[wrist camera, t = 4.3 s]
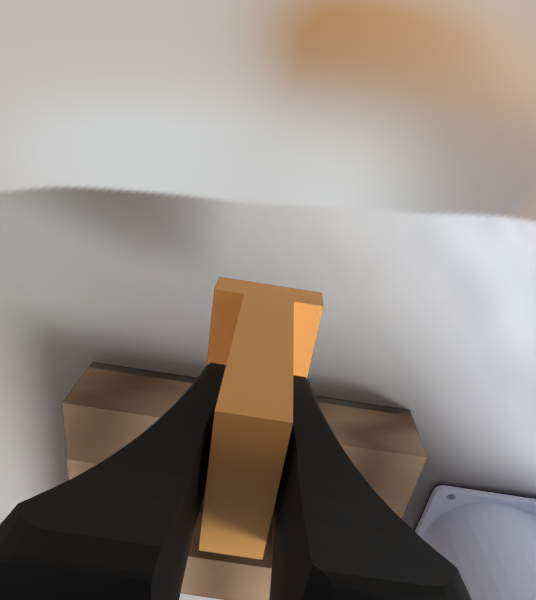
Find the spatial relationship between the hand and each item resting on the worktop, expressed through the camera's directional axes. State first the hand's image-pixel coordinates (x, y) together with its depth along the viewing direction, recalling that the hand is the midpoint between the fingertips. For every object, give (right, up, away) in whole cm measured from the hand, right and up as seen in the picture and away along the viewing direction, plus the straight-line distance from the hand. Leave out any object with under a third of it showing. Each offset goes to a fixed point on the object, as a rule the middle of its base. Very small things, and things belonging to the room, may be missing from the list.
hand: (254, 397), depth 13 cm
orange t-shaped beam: (0, +1, +3) cm, 3 cm away
